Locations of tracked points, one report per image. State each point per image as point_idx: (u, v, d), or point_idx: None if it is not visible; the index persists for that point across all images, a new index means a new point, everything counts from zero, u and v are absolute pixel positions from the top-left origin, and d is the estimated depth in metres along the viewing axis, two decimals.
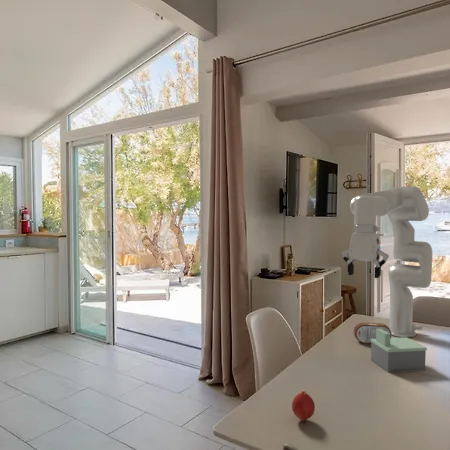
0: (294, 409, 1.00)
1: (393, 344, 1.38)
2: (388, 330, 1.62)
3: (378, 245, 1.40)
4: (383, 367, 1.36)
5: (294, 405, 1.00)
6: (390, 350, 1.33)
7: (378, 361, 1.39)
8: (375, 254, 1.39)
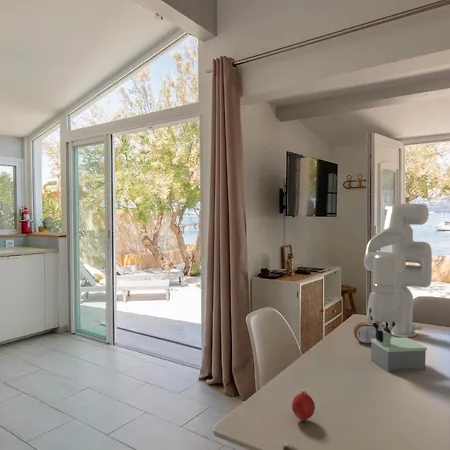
0: (294, 409, 1.00)
1: (393, 344, 1.38)
2: None
3: None
4: (383, 367, 1.36)
5: (294, 405, 1.00)
6: (390, 350, 1.33)
7: (378, 361, 1.39)
8: (398, 314, 1.37)
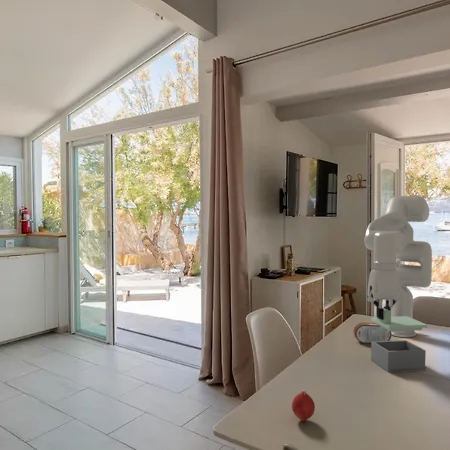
0: (294, 409, 1.00)
1: (394, 322, 1.38)
2: (388, 330, 1.62)
3: None
4: (383, 367, 1.36)
5: (294, 405, 1.00)
6: (391, 327, 1.33)
7: (378, 361, 1.39)
8: (399, 292, 1.37)
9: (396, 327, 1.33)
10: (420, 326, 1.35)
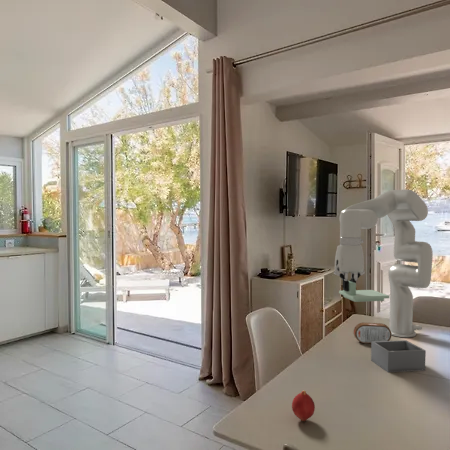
0: (294, 409, 1.00)
1: (359, 294, 1.47)
2: (388, 330, 1.62)
3: None
4: (383, 367, 1.36)
5: (294, 405, 1.00)
6: (355, 297, 1.42)
7: (378, 361, 1.39)
8: (363, 265, 1.47)
9: (360, 297, 1.42)
10: (382, 297, 1.44)
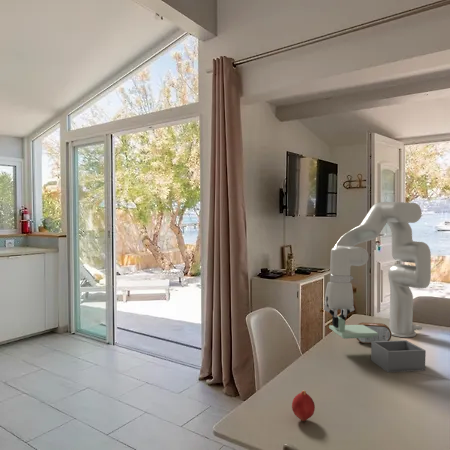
0: (294, 409, 1.00)
1: (348, 330, 1.50)
2: (388, 330, 1.62)
3: None
4: (383, 367, 1.36)
5: (294, 405, 1.00)
6: (344, 335, 1.45)
7: (378, 361, 1.39)
8: None
9: (348, 335, 1.45)
10: (371, 334, 1.47)
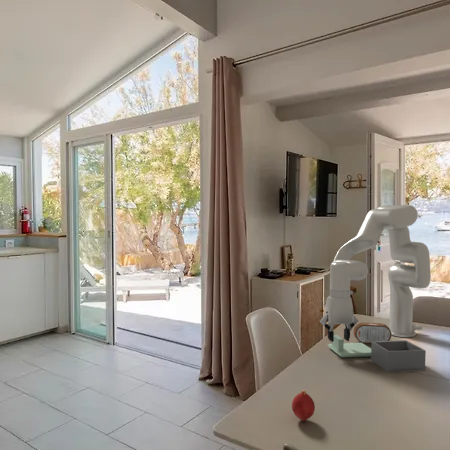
0: (294, 409, 1.00)
1: (347, 349, 1.50)
2: (388, 330, 1.62)
3: None
4: (383, 367, 1.36)
5: (294, 405, 1.00)
6: (342, 354, 1.46)
7: (378, 361, 1.39)
8: (353, 317, 1.50)
9: (347, 354, 1.46)
10: (370, 353, 1.47)
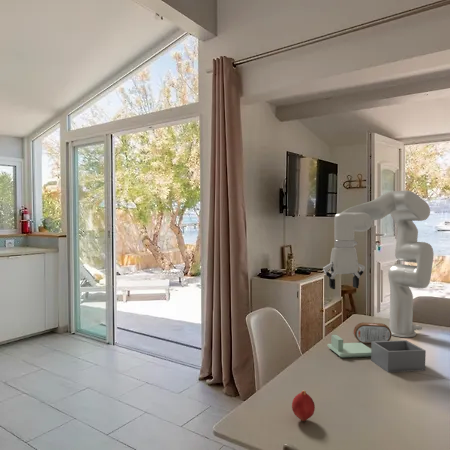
0: (294, 409, 1.00)
1: (346, 349, 1.50)
2: (388, 330, 1.62)
3: None
4: (383, 367, 1.36)
5: (294, 405, 1.00)
6: (342, 354, 1.45)
7: (378, 361, 1.39)
8: (357, 266, 1.52)
9: (347, 355, 1.46)
10: (369, 353, 1.47)
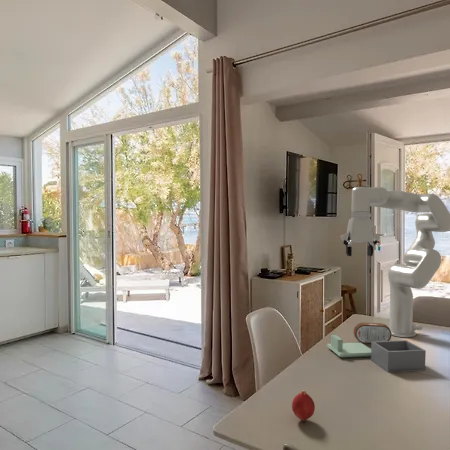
0: (294, 409, 1.00)
1: (346, 349, 1.50)
2: (388, 330, 1.62)
3: None
4: (383, 367, 1.36)
5: (294, 405, 1.00)
6: (341, 355, 1.45)
7: (378, 361, 1.39)
8: (372, 236, 1.66)
9: (346, 355, 1.46)
10: (369, 353, 1.47)
